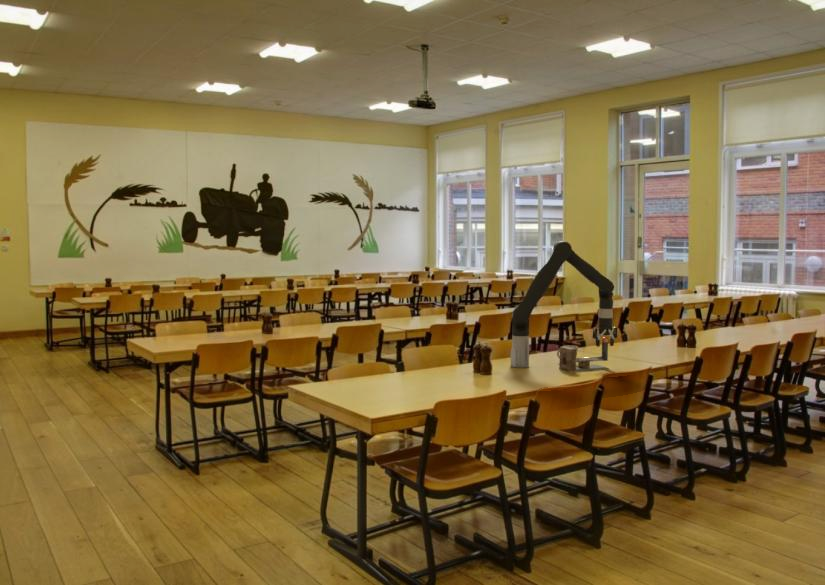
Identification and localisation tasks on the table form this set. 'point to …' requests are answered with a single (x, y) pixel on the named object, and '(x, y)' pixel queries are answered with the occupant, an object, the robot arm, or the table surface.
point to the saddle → (584, 364)
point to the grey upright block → (567, 358)
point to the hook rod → (604, 353)
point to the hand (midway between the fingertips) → (604, 346)
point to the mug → (568, 346)
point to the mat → (592, 367)
